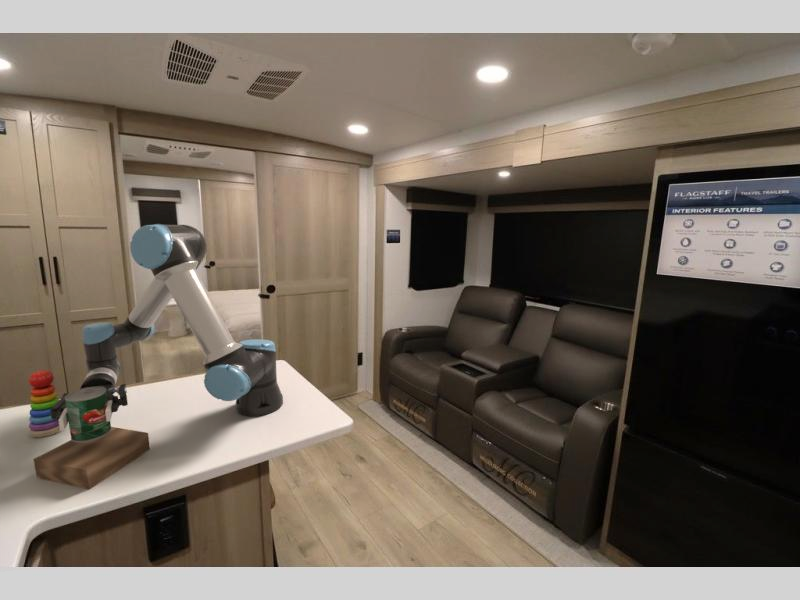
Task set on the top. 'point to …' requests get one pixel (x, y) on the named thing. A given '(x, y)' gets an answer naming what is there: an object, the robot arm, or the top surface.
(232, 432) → the top surface
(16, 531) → the top surface
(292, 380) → the top surface
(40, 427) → the stacking toy
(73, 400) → the canned tomato
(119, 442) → the block
